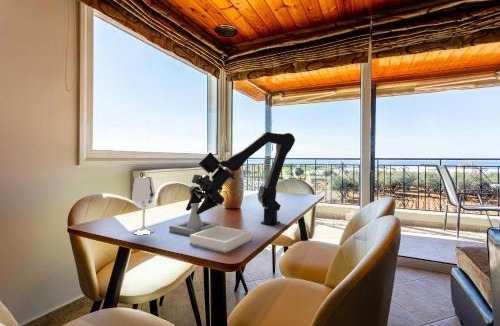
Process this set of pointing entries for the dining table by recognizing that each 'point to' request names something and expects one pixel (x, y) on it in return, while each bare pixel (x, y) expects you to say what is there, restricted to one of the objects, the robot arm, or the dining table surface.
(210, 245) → the tray
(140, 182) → the wineglass
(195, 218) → the flask
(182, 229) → the holder
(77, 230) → the dining table surface
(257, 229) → the dining table surface
